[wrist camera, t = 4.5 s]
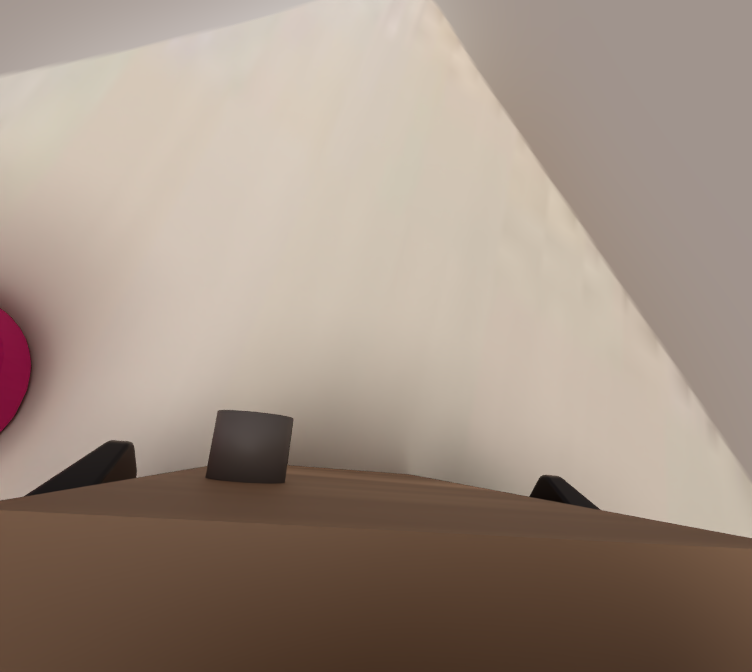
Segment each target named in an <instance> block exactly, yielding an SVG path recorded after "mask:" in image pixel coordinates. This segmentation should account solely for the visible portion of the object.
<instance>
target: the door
mask: <svg viewBox="0 0 752 672" xmlns="http://www.w3.org/2000/svg"><path fill="white" fill-rule="evenodd" d="M292 426H293V418H291V417H287V416H282V415H275V414H268V413H260V412H250V411H236V410H219V411H218V413H217V418H216V423H215V429H214V434H213V439H212V445H211V450H210V455H209V461H208V466H205V467H199V468H193V469H187V470H181V471H175V472H169V473H163V474H157V475H151V476H145V477H139V478H133V479H127V480H121V481H115V482H109V483H103V484H97V485H91V486H85V487H79V488H73V489H67V490H61V491H55V492H49V493H43V494H37V495H31V496H26V497H20V498H14V499H8V500H2V501H0V672H752V538H747V537H741V536H736V535H731V534H725V533H720V532H714V531H709V530H704V529H698V528H693V527H688V526H682V525H677V524H672V523H666V522H661V521H656V520H650V519H645V518H639V517H634V516H629V515H623V514H618V513H613V512H607V511H602V510H597V509H591V508H586V507H581V506H575V505H570V504H565V503H559V502H554V501H548V500H543V499H538V498H532V497H527V496H522V495H516V494H511V493H506V492H500V491H495V490H490V489H484V488H479V487H474V486H468V485H463V484H457V483H452V482H447V481H441V480H436V479H431V478H425V477H420V476H415V475H409V474H395V473H382V472H369V471H356V470H343V469H330V468H317V467H303V466H290V465H287V463H288V456H289V448H290V441H291V434H292Z"/></svg>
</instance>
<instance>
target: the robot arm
mask: <svg viewBox="0 0 752 672" xmlns="http://www.w3.org/2000/svg"><path fill="white" fill-rule="evenodd" d="M136 475H137V468H136V459H135V450H134V445H133V443H132V442H129V441H116V440H111V441H108V442H106V443H104V444H103V445H101V446H100V447H98V448H97V449H95V450H94V451H92V452H91V453H89V454H88V455H86V456H85V457H83V458H82V459H80V460H79V461H77V462H76V463H74V464H73V465H71V466H70V467H68V468H66V469H65V470H63V471H62V472H60V473H59V474H57V475H56V476H54V477H53V478H51V479H50V480H48V481H47V482H45V483H44V484H42V485H41V486H39V487H38V488H36V489H35V490H33V491H32V492H30V493H28V494H27V495H25V496H24V497H26V496H31V495H37V494H43V493H49V492H55V491H61V490H67V489H73V488H79V487H85V486H91V485H97V484H103V483H109V482H115V481H121V480H127V479H133V478H136ZM529 497H532V498H538V499H543V500H548V501H554V502H559V503H565V504H570V505H575V506H581V507H586V508H591V509H597V510H600V509H599V508H598V507H596V506H595V505H594V504H593V503H592V502H590V501H589V500H588V499H587V498H585V497H584V496H583V495H582V494H581V493H579V492H578V491H577V490H576V489H575V488H573V487H572V486H571V485H570V484H568V483H567V482H566V481H565V480H564V479H562V478H561V477H559V476H552V475H543V476H541V477H540V478H539V480H538V481H537V483H536V485H535V487H534V489H533V491H532V493H531V494H530V496H529Z"/></svg>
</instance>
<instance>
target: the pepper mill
mask: <svg viewBox="0 0 752 672" xmlns="http://www.w3.org/2000/svg"><path fill="white" fill-rule="evenodd" d="M30 371H31V359H30V353H29V348H28V344H27V341H26V339H25V337H24V335H23V333H22V331H21V329H20V327H19V326H18V325H17V324H16V323H15V321H14V320H13V319H12V318H11V317H10V316H9V315H8V314H7V313H6V312H4V311H3V310H2V309H0V432H1V431H2V430H3V429H4V428H5V427H6V426H7V424H8V423H9V422H10V421H11V419H12V418H13V417H14V416H15V414H16V412H17V410H18V408H19V406H20V404H21V401H22V399H23V397H24V395H25V393H26V391H27V387H28V382H29V377H30Z"/></svg>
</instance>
